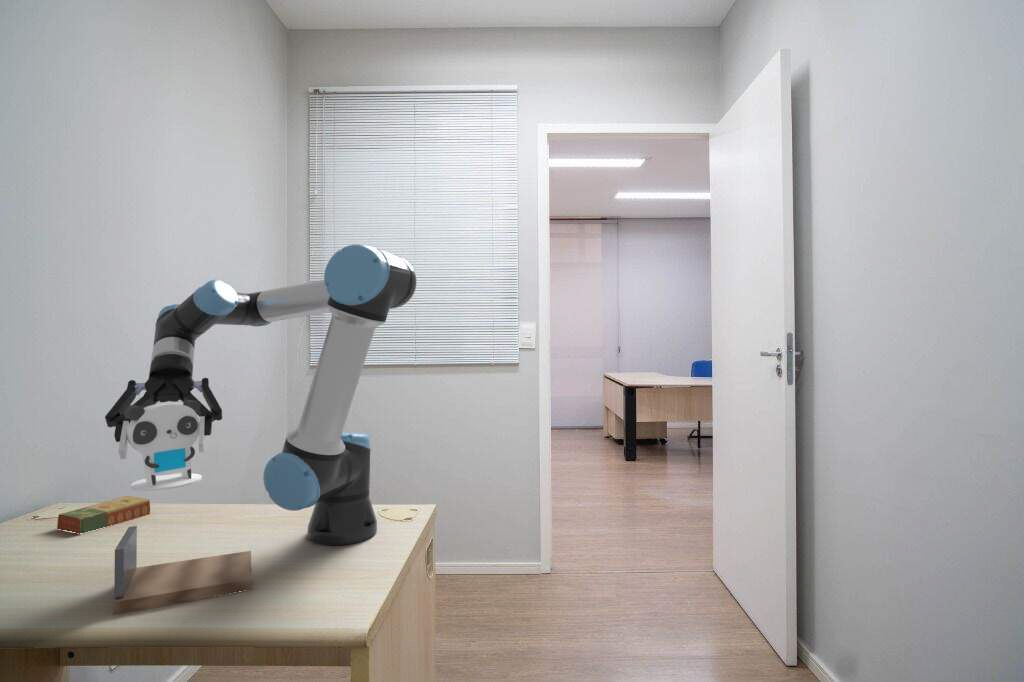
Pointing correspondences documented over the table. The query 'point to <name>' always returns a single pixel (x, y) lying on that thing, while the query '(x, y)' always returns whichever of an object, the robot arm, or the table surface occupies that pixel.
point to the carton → (104, 514)
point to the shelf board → (186, 581)
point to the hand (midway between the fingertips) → (162, 451)
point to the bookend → (125, 562)
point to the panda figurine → (164, 443)
